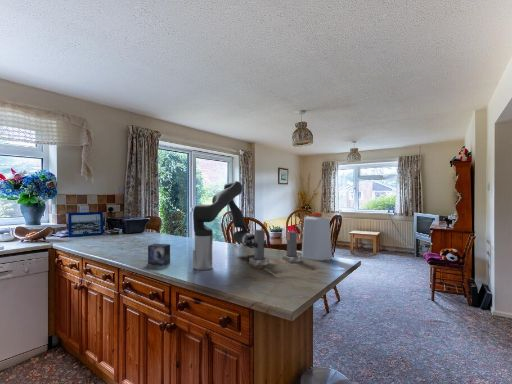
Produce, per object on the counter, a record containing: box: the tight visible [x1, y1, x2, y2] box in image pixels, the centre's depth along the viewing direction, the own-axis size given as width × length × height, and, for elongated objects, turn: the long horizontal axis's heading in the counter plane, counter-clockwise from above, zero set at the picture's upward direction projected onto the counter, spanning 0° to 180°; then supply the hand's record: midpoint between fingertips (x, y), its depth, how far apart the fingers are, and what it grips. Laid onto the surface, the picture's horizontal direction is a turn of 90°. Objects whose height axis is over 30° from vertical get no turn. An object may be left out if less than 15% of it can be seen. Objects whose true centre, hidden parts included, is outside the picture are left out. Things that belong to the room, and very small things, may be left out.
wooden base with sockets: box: [248, 254, 303, 269], centre depth 154 cm, size 28×9×4 cm, turn 111°
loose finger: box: [253, 229, 266, 260], centre depth 151 cm, size 5×4×16 cm
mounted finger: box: [285, 230, 298, 257], centre depth 157 cm, size 5×4×16 cm
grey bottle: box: [301, 211, 333, 261], centre depth 167 cm, size 15×15×28 cm
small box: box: [147, 243, 171, 266], centre depth 155 cm, size 11×6×10 cm, turn 76°
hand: (261, 245), depth 148 cm, fingers closed on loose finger, 4 cm apart
